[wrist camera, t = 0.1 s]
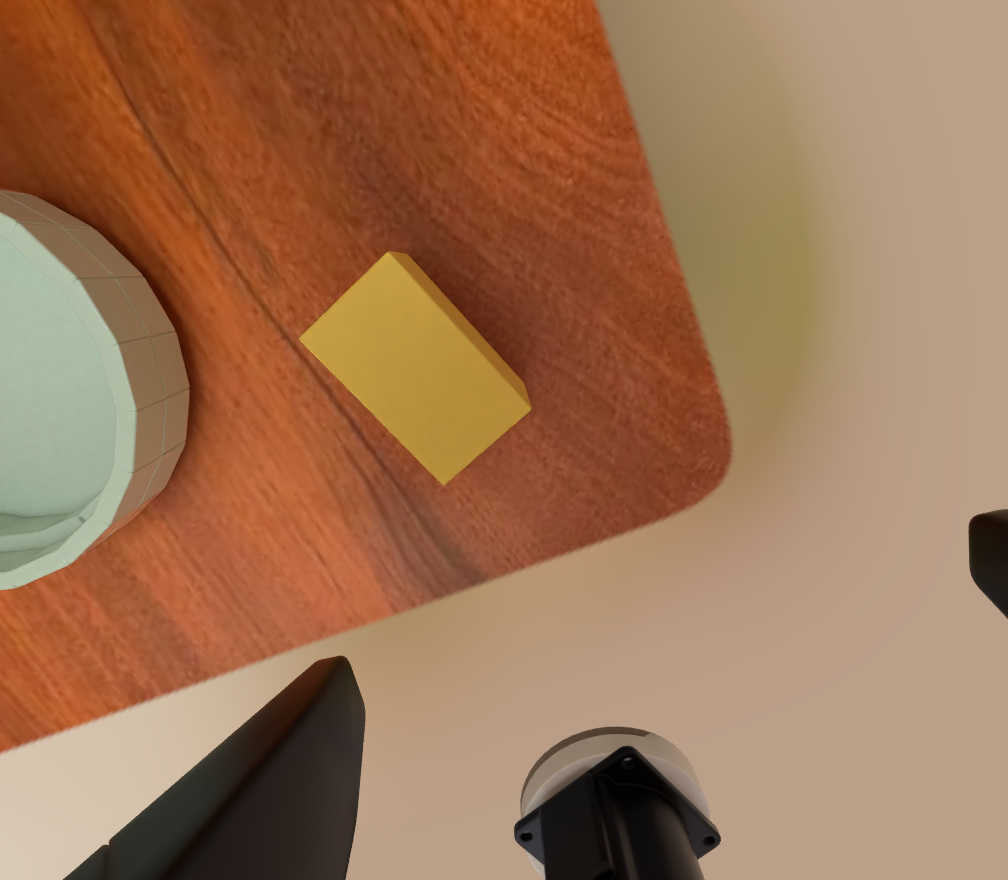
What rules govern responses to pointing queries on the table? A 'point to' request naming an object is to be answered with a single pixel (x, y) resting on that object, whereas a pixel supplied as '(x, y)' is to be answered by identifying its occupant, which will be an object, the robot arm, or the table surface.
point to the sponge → (418, 366)
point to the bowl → (78, 390)
